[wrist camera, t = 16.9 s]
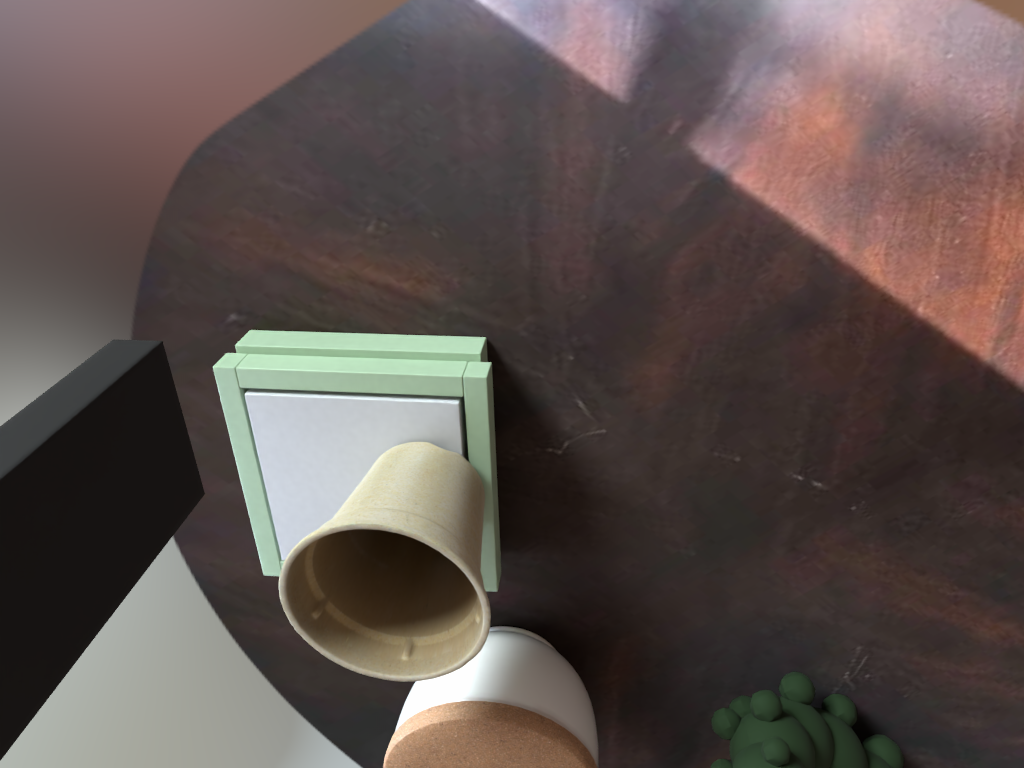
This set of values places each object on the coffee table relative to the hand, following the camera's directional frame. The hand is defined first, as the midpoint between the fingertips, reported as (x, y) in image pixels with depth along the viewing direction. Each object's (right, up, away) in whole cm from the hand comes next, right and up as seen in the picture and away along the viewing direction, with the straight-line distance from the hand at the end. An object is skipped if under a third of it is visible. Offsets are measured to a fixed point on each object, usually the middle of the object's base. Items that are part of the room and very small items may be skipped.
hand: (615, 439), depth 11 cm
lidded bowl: (-2, -18, +41) cm, 45 cm away
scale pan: (-9, -4, +32) cm, 34 cm away
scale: (-9, -3, +34) cm, 35 cm away
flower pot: (-6, -5, +30) cm, 31 cm away
